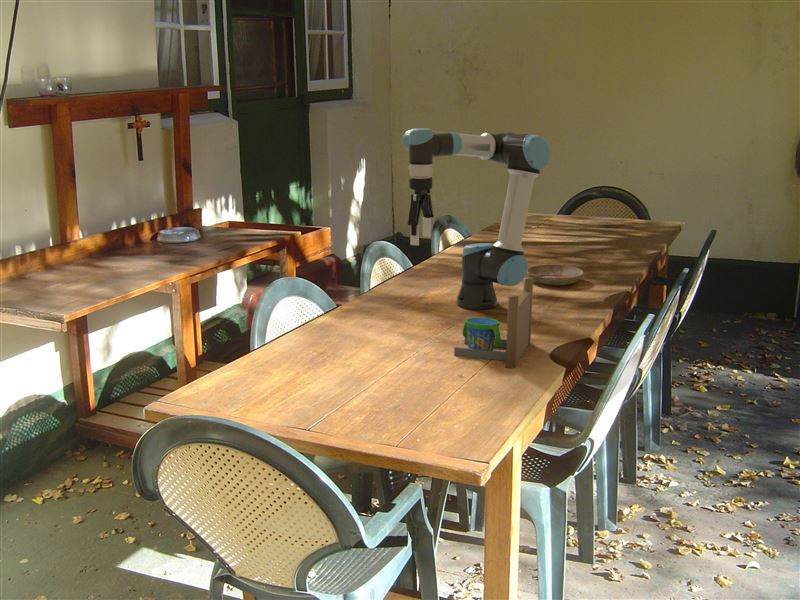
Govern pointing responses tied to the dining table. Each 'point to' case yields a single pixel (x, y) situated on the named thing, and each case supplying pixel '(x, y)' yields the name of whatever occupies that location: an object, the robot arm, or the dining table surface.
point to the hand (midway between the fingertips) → (420, 241)
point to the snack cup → (482, 333)
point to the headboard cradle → (510, 330)
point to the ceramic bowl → (555, 274)
